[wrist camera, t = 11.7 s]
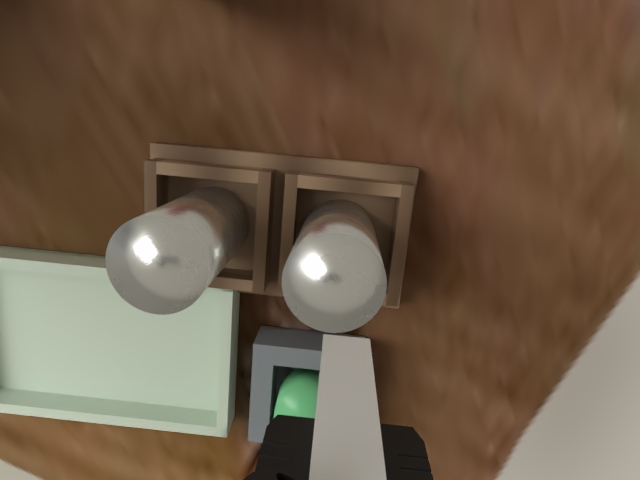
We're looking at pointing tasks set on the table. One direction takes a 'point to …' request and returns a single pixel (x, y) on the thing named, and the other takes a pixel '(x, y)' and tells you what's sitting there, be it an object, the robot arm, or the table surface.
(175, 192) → the tray
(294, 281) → the cylinder
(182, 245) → the cylinder
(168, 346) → the tray
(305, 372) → the button
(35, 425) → the table surface
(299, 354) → the grey square button housing
